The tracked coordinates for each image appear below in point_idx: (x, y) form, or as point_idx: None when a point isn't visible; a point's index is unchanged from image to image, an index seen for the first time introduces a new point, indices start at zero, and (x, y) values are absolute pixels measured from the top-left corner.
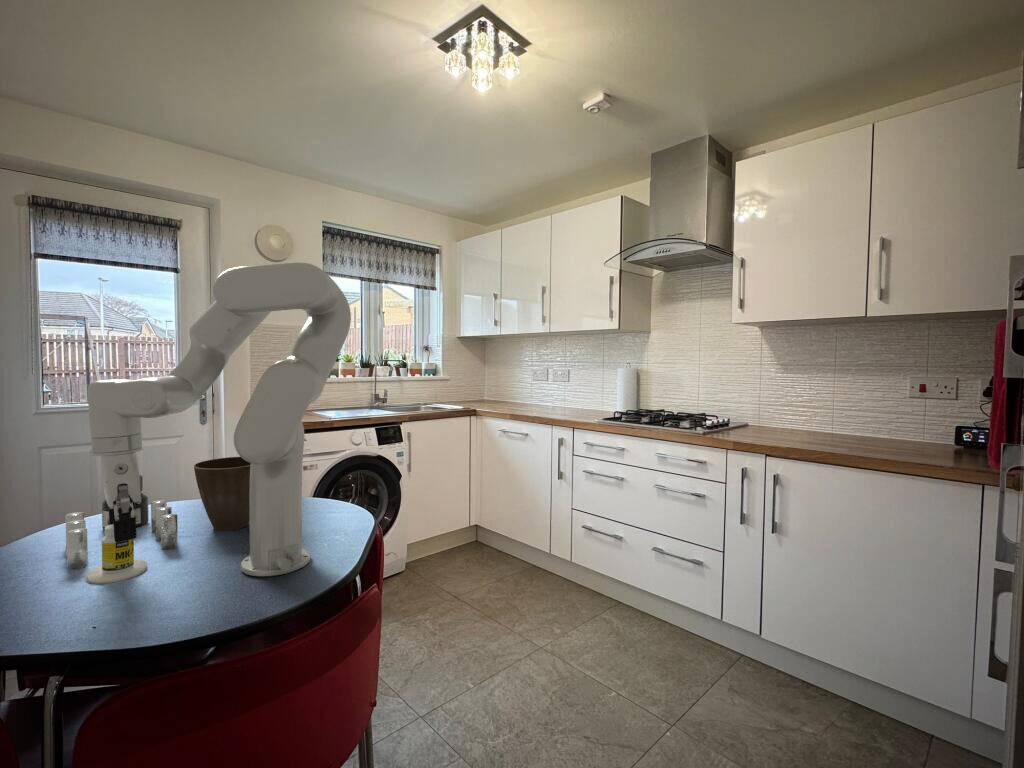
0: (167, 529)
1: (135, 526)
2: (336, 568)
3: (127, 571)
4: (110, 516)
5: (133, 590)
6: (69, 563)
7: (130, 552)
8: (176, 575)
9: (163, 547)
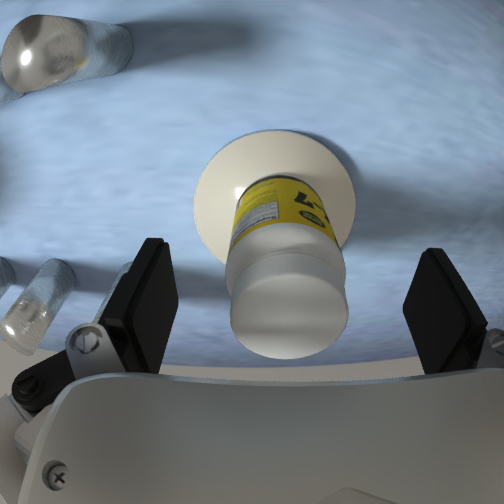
0: (92, 54)
1: (462, 285)
2: None
3: (323, 193)
4: (162, 354)
5: (443, 196)
6: None
7: (321, 210)
8: (428, 82)
9: (119, 68)
